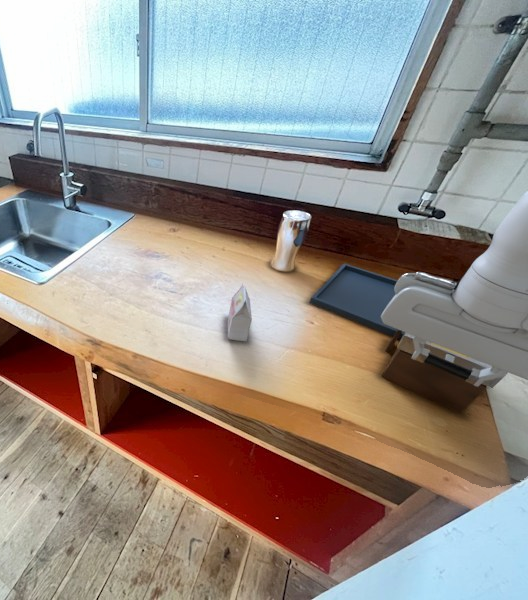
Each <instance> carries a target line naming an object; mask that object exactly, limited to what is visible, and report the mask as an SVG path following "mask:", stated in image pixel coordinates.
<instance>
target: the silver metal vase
mask: <svg viewBox="0 0 528 600" xmlns="http://www.w3.org/2000/svg"><path fill="white" fill-rule="evenodd" d="M311 221H312V215H311V214H310V213H309V212H306V211H304V210H295V209H291V210H286V211H284V212H283V213H282V216H281V219H280V222H279V224H278V229H277V234H276V247H275V253H274V255H273V258H272V260H271V262H270V266H271V267H272V268H273V270H276V271H279V272H283V273H284V272H292V271H293V270H294V269H295V266H296V265H295V264H296V259H297V255H298V253H299V251H300V249H301V248H302V246H303V245H304V242H305V240H306V238H307V235H308V232H309V229H310V226H311Z"/></svg>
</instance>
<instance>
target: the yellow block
mask: <svg viewBox="0 0 528 600" xmlns="http://www.w3.org/2000/svg"><path fill="white" fill-rule="evenodd" d="M430 344H433V345H435V346H438V347H440V348H443V349H445V350H448V351H450V352H453V353H455V354H458V355H461V356H463V357H466V358H468V357H467V356H465V355H462V354H460V353H457V352H455V351H452V350H450V349H447V348H444V347H442V346H439V345H437V344H434V343H432V342H430Z"/></svg>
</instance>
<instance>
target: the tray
mask: <svg viewBox="0 0 528 600" xmlns="http://www.w3.org/2000/svg"><path fill="white" fill-rule="evenodd" d="M397 281H398V279H395V278H393V277H389V276H387V275H382V274H379V273H377V272H374V271H370V270H367V269H364V268H360V267H357V266H354V265H351V264H348V263H342V265H341V266H339V268H338V269H337V270H336V271H335V272H334V273H333V275H331V276H330V277H329V278H328V279H327V280H326V282H325V283H324V284H322V286H321V287H319V289H318V290H317V291H316V292H315V293H314V294H313V295H312V296H311V298H310V300H309V302H308V303H309V304H311V305H314V306H316V307H319V308H321V309H324V310H326V311H329V312H330V313H333V314H336V315H338V316H341V317H343V318H346V319H349V320H351V321H353V322H355V323H358V324H361V325H362V326H366V327H367V328H370V329H373V330H375V331H378V332H380V333H383V334H385V335H388V336H390V337H392V338H393V336H394V335H395V333H396V332H397V330H398V329H396V328H393V327H391V326H388V325H386V324H384V323H383V321H382V319H381V315H382V313H383V311H384V310H385V308H386V307H387V305H388V304H389V302H390V301H391V300H392V298H393V297H394V296H395V294H396V293H395V291H394V287H395V284H396V283H397ZM404 333H405V332H404V331H402V332H401V334H400V335H399V337H398V338H397V340H399V341H400V340H401V338H402V336H403V335H404Z"/></svg>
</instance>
